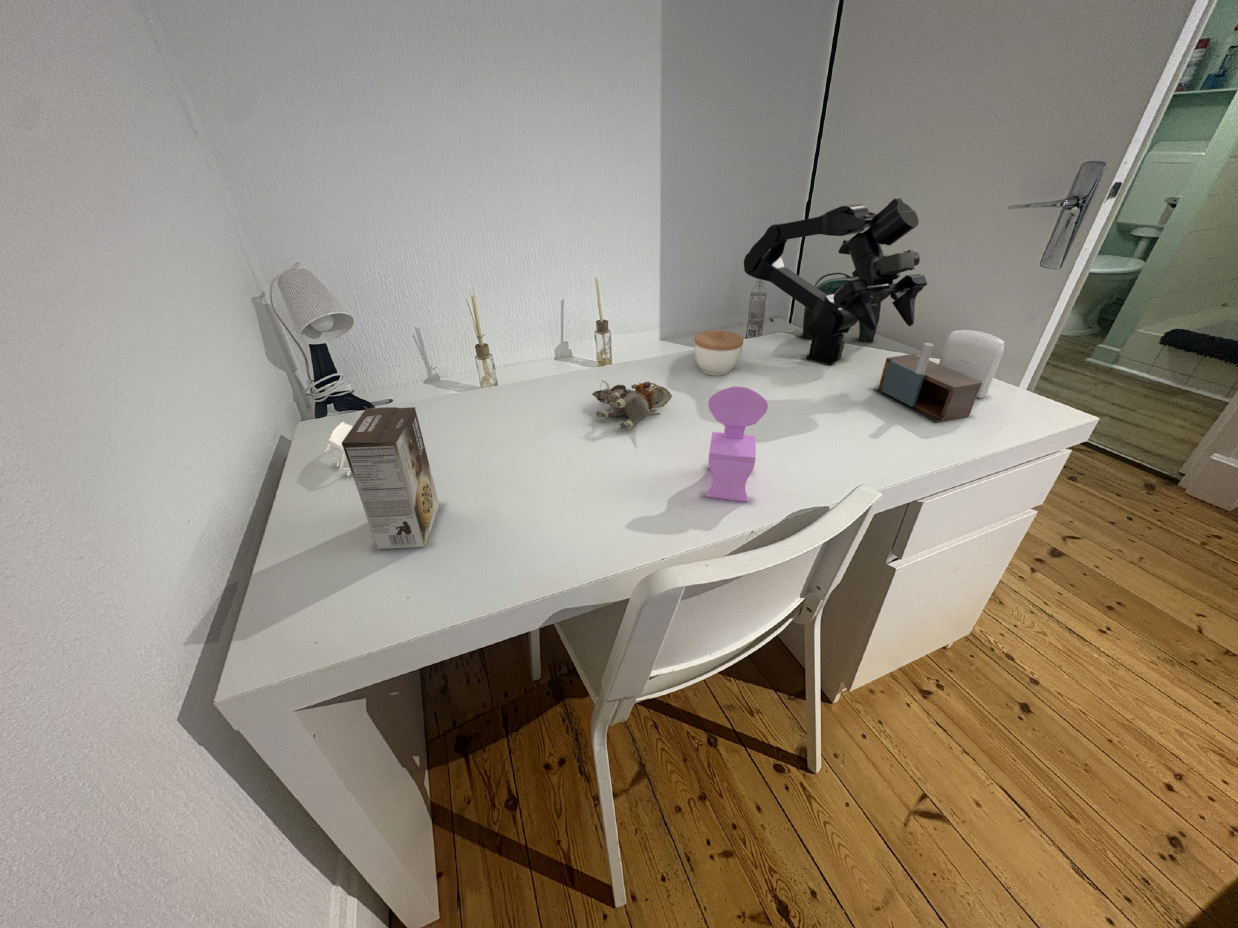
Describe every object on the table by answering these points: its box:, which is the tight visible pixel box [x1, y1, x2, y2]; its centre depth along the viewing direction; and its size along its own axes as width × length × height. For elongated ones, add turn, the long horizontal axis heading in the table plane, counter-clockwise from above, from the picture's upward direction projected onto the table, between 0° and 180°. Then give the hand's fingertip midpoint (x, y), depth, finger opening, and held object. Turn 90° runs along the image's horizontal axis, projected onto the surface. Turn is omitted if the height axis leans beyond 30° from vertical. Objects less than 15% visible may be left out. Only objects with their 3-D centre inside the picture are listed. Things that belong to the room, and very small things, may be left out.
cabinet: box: [872, 353, 982, 424], centre depth 101 cm, size 16×8×7 cm, turn 19°
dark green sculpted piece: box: [802, 272, 890, 343], centre depth 131 cm, size 20×6×20 cm, turn 77°
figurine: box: [591, 380, 673, 430], centre depth 99 cm, size 20×6×17 cm
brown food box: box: [341, 406, 440, 550], centre depth 66 cm, size 9×6×16 cm
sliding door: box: [881, 342, 934, 407], centre depth 99 cm, size 8×2×12 cm, turn 19°
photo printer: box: [938, 329, 1006, 399], centre depth 104 cm, size 10×4×12 cm, turn 39°
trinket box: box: [693, 329, 744, 377], centre depth 115 cm, size 11×11×9 cm
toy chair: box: [704, 385, 769, 502], centre depth 74 cm, size 8×9×15 cm
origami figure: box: [324, 421, 354, 477], centre depth 85 cm, size 12×8×5 cm
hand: (893, 327), depth 104 cm, fingers open, 9 cm apart
